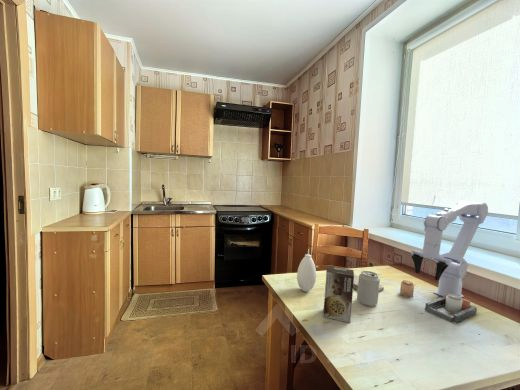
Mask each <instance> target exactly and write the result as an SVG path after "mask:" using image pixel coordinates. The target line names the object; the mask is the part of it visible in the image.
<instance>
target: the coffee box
mask: <svg viewBox="0 0 520 390" xmlns="http://www.w3.org/2000/svg"><path fill="white" fill-rule="evenodd" d="M354 274H355V271H354V269H349V268H343V267H337V266H330V265H328V266H327V267H326V272H325V286H324V300H323V313H322V318H327V319H331V320H335V321H336V320H337V321H341V322H345V323H350V324H351V320H352V319H351V318H352V305H353V297H354V296H353V293H354V288H353V283H354Z"/></svg>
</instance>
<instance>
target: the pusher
mask: <svg viewBox="0 0 520 390" xmlns="http://www.w3.org/2000/svg"><path fill="white" fill-rule="evenodd" d="M448 294H450V293H447V295H448ZM461 299H462V300H463V302H462V310H461V311H463V310H465V309H468V308H470V305H471V300H468V299H466V298H463V297H461Z"/></svg>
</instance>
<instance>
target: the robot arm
mask: <svg viewBox="0 0 520 390" xmlns="http://www.w3.org/2000/svg"><path fill="white" fill-rule="evenodd" d="M488 214H489V206H488V205H487V203H486V202H479V201H469V200H459V201H457V203H456V204H455V206H453V207H452V208H451V209H450V208H444V209H443V210H442V211H439V212H436V213H435V214H429V215H427V216H425V217H424V220H423V226H424V229H423V230H424V232H425V234H424V240H423V247H422V251H421V250H416V249H411V251H410V255H411V259H412V260H413V264H414V270H415V271H414V272H415V274H420V273H421V268H422V264H423V263H422V262H423V260H424V258H425V259H428V260H431V261H435V269H436V270H435V276H434V280H435V281H438V286H437V287H438V288H437V290H435V291H433V293H434V294H436V295H439V296H442V297H444V296H447V293H450V294H453V295H457V296H459V297H461V298H463V297H464V295H463V294H462V290H463V279H462V278H464V277H466V274H467V270H468V266H469V264H468V262H467V260H466V259H465V258H464V257H465V256H466V253H467V250H468V248H469V247H470V246H471V245H470V244H471V242H472V241H473V239H474V236H475V234H476V232H477V231H478V228H479V226H480V225H481V224H484V221H485V220H486V218H487V216H488ZM458 217H459V220H460V221H461V222H463V224H462V226H461V228H460V230H459V232H458V234H457V236H456V239H455V240H454V243H453V244H452V247H451V248H450V250H449V252H446V253H443V254H441V255H440V251H441V244H442V240H443V239H442V237H443V232H444V231H445V230H446V229H447V227H448V226H449V225H450V224H451V223H453V222H455V221H456V220H457V218H458Z"/></svg>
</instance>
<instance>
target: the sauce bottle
mask: <svg viewBox="0 0 520 390" xmlns="http://www.w3.org/2000/svg"><path fill="white" fill-rule="evenodd" d="M298 265H299V266H298V268H297V273H296V279H297V280H296V282H297V285H298V287H299V289H301V291H303V292H305V293H307V292H310V291H311V290H312V289H313V288H314V286H315V285H316V281H317V270H316V265H315V262H314V259H313V258H312V255H311V254H310V248H308V250H307V254H306V253H305V254H304V257H303V258H302V259H301V261H300V262H299V264H298Z"/></svg>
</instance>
